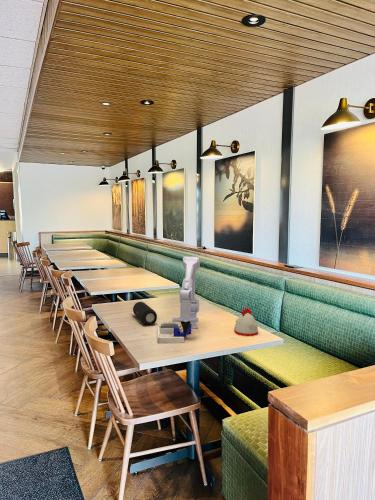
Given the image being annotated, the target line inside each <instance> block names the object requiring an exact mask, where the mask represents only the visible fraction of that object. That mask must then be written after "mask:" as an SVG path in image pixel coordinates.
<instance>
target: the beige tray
mask: <svg viewBox="0 0 375 500" xmlns="http://www.w3.org/2000/svg"><path fill="white" fill-rule="evenodd" d="M178 328H179V330H180V333H181V332H183V328H182V325H181V324H178ZM161 335H174V328H161V325H157V344H183V343H185V338H184V337H174V336H161Z"/></svg>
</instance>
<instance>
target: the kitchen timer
mask: <svg viewBox="0 0 375 500" xmlns="http://www.w3.org/2000/svg"><path fill="white" fill-rule="evenodd" d="M240 312H241V315H239V316H238V318H237V319H236V320H235V324H234V328H233V330H234V331H233V332H234V334H236V335H238V336H241V337H254V336H257V335H258V334H259V330H258V329H259V328H258V324H257V320H256V318H255V317H254V316H253V315H252V313H253V311H252V310H251V308H249V307H245V308H243V309H242V310H241V311H240Z"/></svg>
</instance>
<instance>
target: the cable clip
mask: <svg viewBox="0 0 375 500" xmlns="http://www.w3.org/2000/svg"><path fill="white" fill-rule="evenodd" d="M191 325H192V324H190V326H189V328H188V330H187V334H186V335H184V332H183V331H182V332H181V333H180V330H179V328H177V327H174V334H173V337H184V339H185V338H187V336H189V335H192V328H191Z"/></svg>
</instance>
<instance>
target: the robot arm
mask: <svg viewBox="0 0 375 500" xmlns="http://www.w3.org/2000/svg"><path fill="white" fill-rule="evenodd" d="M200 263H201V259H200V257H199V256H186V255H184V256H183V257H182V266H183V268H184V270H185V276H184V278H183V280H182V285H181V289H180V290H179V303H180V305H179V307H180V309H179V310H180V315H179V317H172V318H171V321H172V322H171V323H180V325H181V328H182V332H184V335H186V334H187V330H188V328H189V326H190V324H192V325H191V329H199V328H198V325H197V323H199V317H197V315H198V314H197V313H199V312H200V300H199V299H198V298H197V297H196V294H195V293H196V275H197V274H196V273H197V271H198V270H200Z"/></svg>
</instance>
